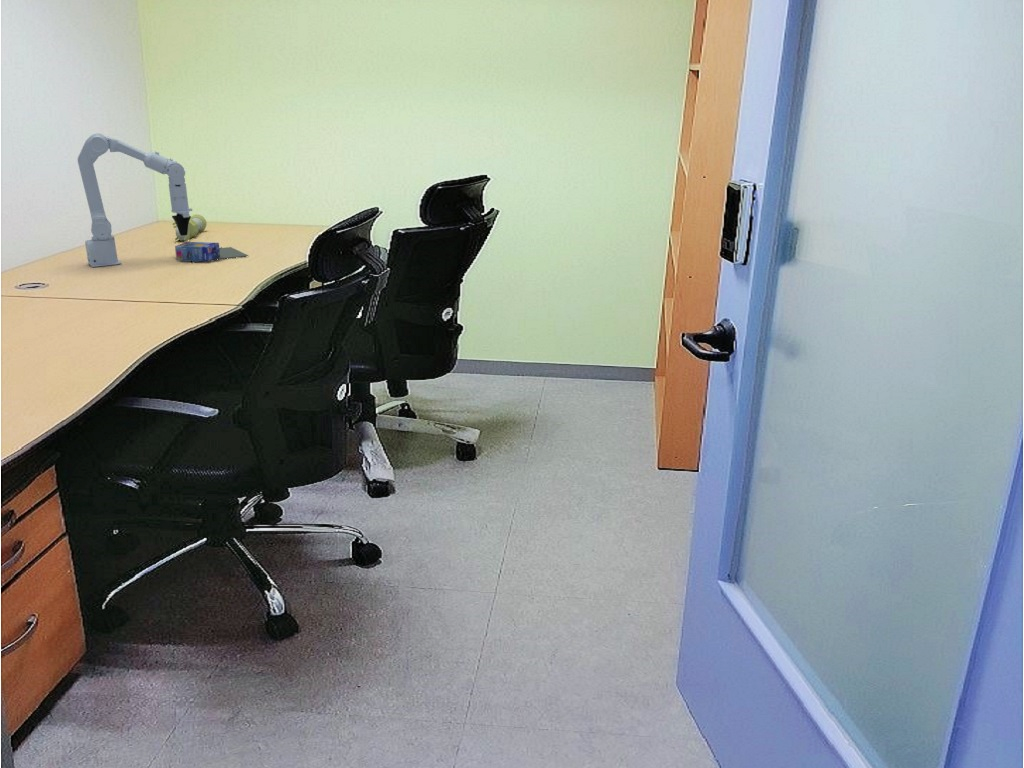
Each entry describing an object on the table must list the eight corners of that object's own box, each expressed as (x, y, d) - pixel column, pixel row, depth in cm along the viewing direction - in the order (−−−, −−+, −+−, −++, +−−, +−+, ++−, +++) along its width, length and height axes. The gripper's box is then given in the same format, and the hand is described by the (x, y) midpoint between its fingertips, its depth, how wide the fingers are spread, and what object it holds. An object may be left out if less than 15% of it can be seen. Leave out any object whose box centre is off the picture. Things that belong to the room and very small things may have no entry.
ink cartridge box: (187, 240, 304) (225, 242, 303) (188, 255, 306) (226, 257, 305) (174, 245, 295) (213, 247, 294) (175, 260, 297) (214, 263, 296)
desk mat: (193, 262, 296) (192, 261, 296) (177, 253, 312) (177, 252, 311) (248, 256, 307) (248, 255, 307) (230, 248, 323) (230, 247, 322)
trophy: (188, 213, 357) (167, 223, 329) (206, 213, 357) (186, 223, 329) (190, 232, 360) (169, 244, 331) (208, 232, 360) (189, 244, 332)
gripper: (196, 198, 293) (200, 236, 298) (184, 194, 305) (189, 231, 309) (175, 199, 290) (180, 238, 294) (164, 195, 301) (169, 233, 305)
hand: (183, 235), depth 301 cm, fingers closed
